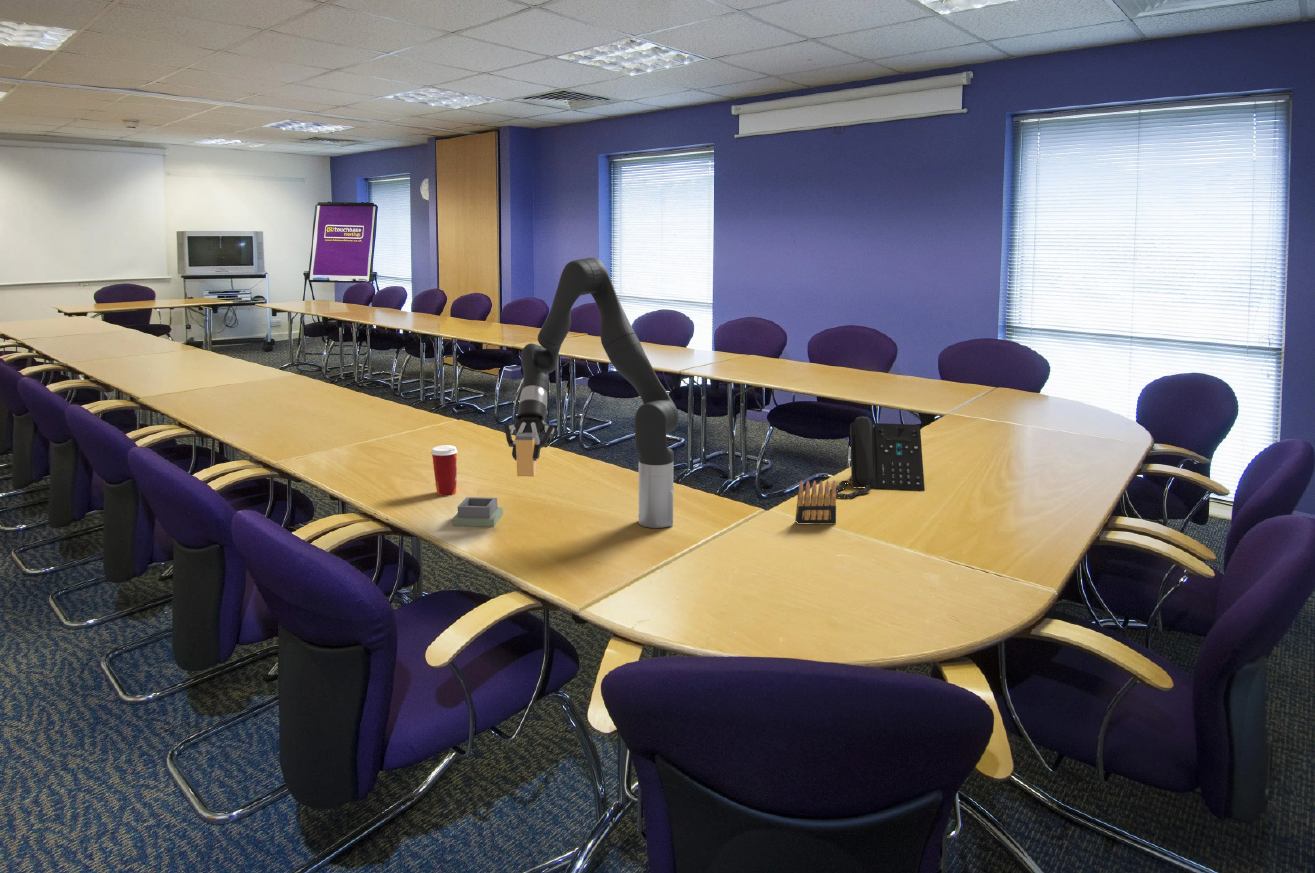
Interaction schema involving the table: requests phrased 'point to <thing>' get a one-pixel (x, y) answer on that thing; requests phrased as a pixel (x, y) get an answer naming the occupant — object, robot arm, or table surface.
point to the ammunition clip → (816, 504)
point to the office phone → (884, 457)
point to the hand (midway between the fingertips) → (525, 458)
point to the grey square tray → (478, 512)
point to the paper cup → (445, 469)
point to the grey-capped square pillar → (525, 454)
